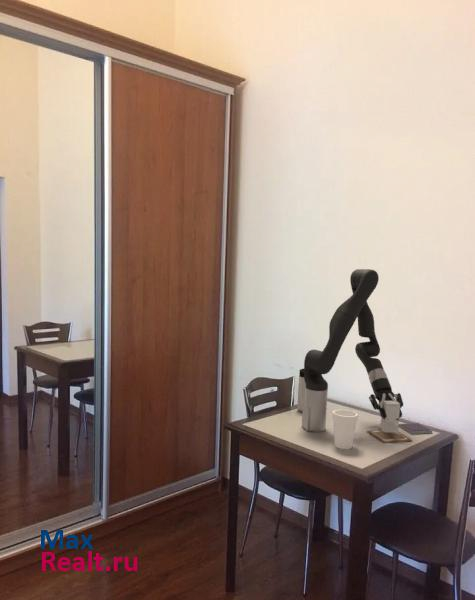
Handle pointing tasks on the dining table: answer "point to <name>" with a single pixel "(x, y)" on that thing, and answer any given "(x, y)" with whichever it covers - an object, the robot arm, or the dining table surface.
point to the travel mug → (301, 391)
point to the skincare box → (390, 416)
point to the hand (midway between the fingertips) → (392, 417)
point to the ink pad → (415, 428)
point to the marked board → (389, 436)
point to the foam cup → (344, 427)
